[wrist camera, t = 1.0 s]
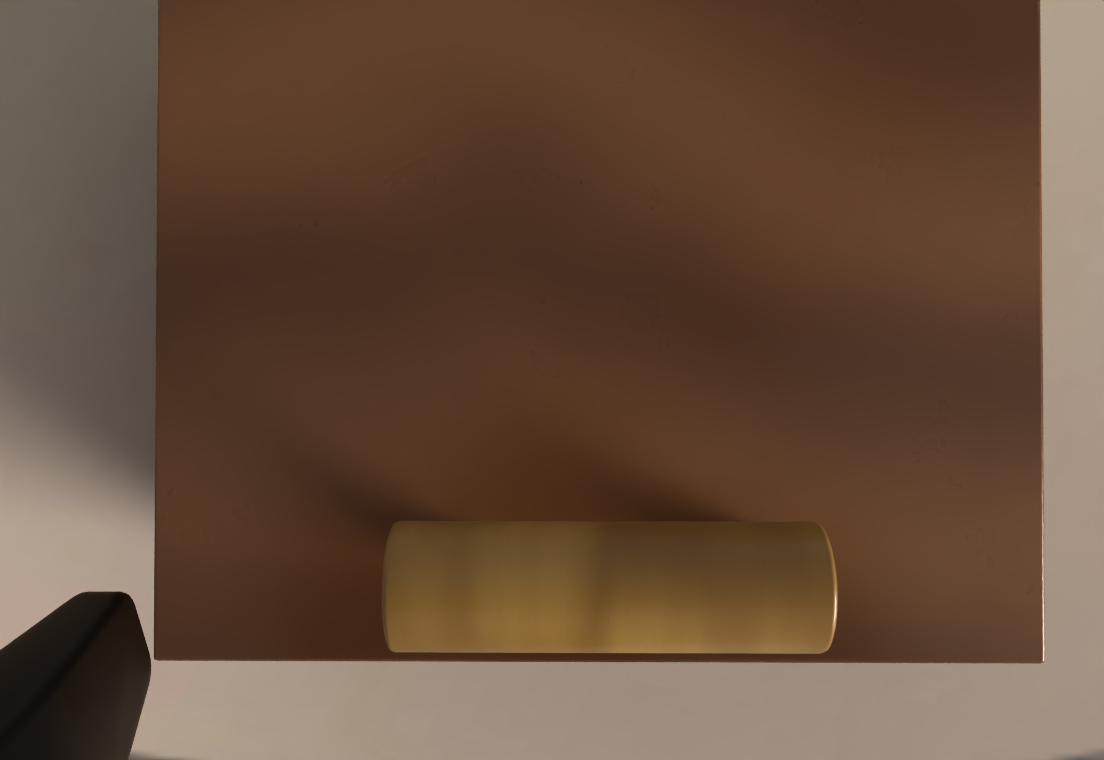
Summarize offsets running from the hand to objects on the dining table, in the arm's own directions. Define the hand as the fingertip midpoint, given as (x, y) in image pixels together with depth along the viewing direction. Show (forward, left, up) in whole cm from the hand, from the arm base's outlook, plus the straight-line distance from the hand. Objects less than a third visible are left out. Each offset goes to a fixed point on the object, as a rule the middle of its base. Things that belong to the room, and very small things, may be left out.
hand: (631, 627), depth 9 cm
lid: (+4, 0, -9) cm, 10 cm away
